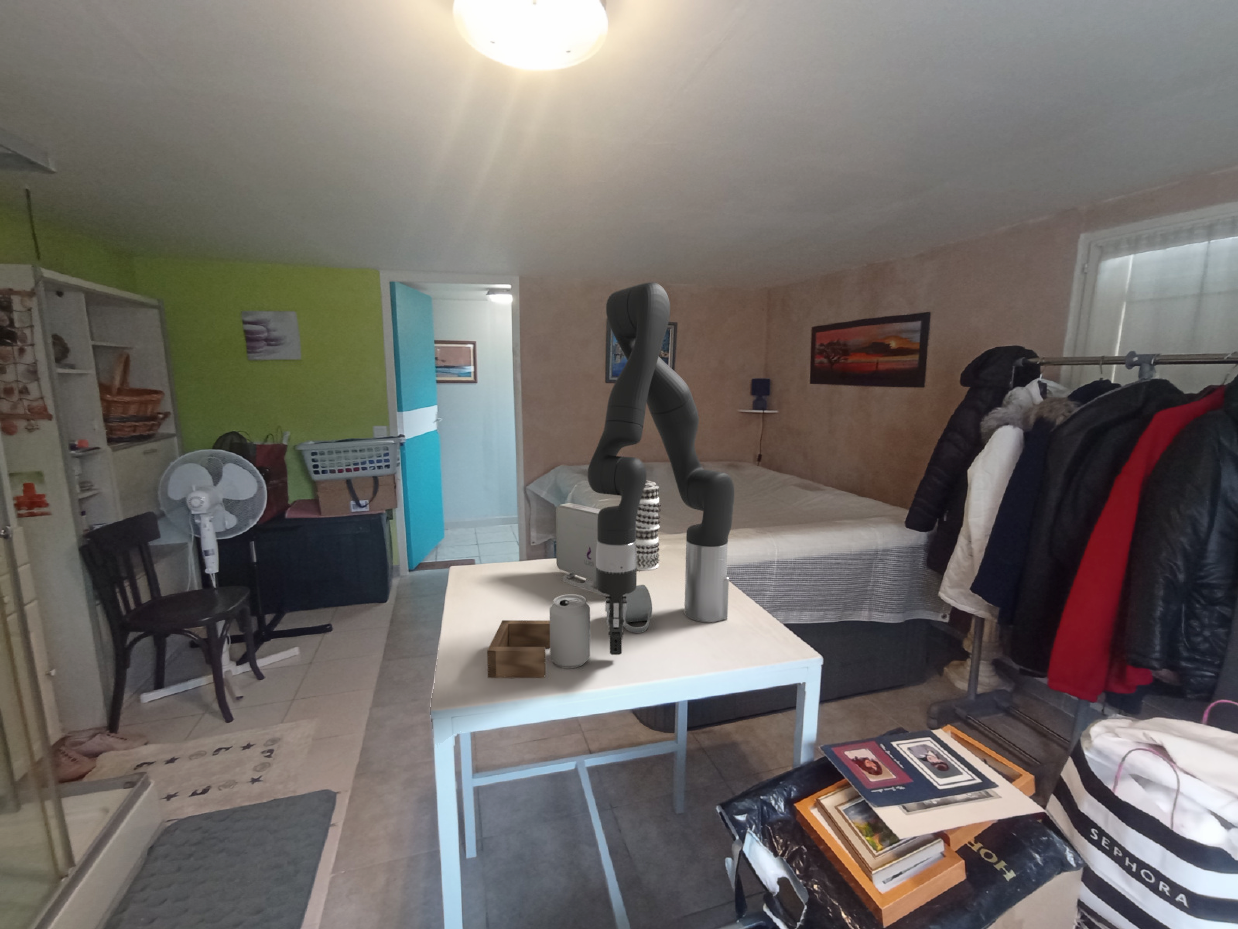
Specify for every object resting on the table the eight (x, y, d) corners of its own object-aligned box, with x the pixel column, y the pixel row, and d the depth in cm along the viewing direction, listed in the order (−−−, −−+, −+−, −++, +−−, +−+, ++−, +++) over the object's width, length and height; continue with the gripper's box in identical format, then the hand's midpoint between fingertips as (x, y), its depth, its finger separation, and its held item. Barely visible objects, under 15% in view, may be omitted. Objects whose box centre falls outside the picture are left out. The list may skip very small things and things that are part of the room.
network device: (550, 576, 144) (549, 505, 141) (573, 569, 150) (573, 500, 148) (619, 601, 127) (619, 521, 124) (642, 592, 133) (643, 515, 131)
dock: (552, 644, 105) (552, 620, 104) (544, 677, 93) (544, 651, 92) (502, 644, 105) (502, 620, 104) (487, 677, 92) (487, 650, 92)
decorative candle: (634, 572, 148) (635, 485, 144) (624, 562, 157) (625, 479, 153) (664, 569, 150) (666, 483, 147) (653, 559, 159) (655, 478, 156)
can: (551, 651, 102) (550, 592, 101) (589, 650, 103) (589, 591, 101) (548, 671, 95) (548, 608, 93) (590, 670, 95) (590, 607, 94)
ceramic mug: (606, 616, 119) (607, 583, 117) (640, 611, 121) (641, 579, 120) (622, 637, 109) (623, 602, 108) (658, 631, 111) (659, 597, 110)
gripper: (638, 576, 90) (637, 671, 92) (635, 553, 103) (634, 636, 105) (594, 576, 90) (594, 671, 92) (597, 553, 103) (596, 636, 105)
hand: (615, 652), depth 99 cm, fingers closed
